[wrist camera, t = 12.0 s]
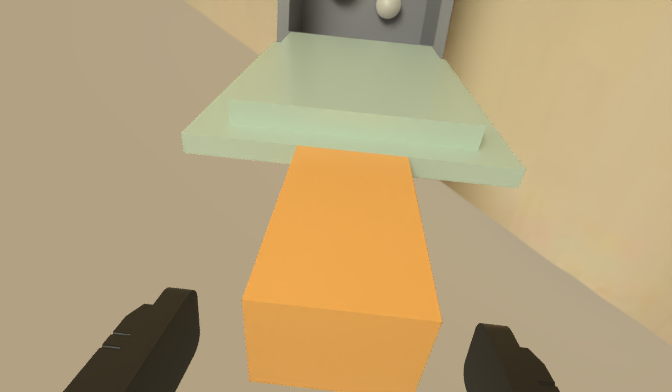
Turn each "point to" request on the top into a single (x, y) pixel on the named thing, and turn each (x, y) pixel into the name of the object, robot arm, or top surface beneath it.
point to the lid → (348, 203)
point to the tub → (369, 20)
